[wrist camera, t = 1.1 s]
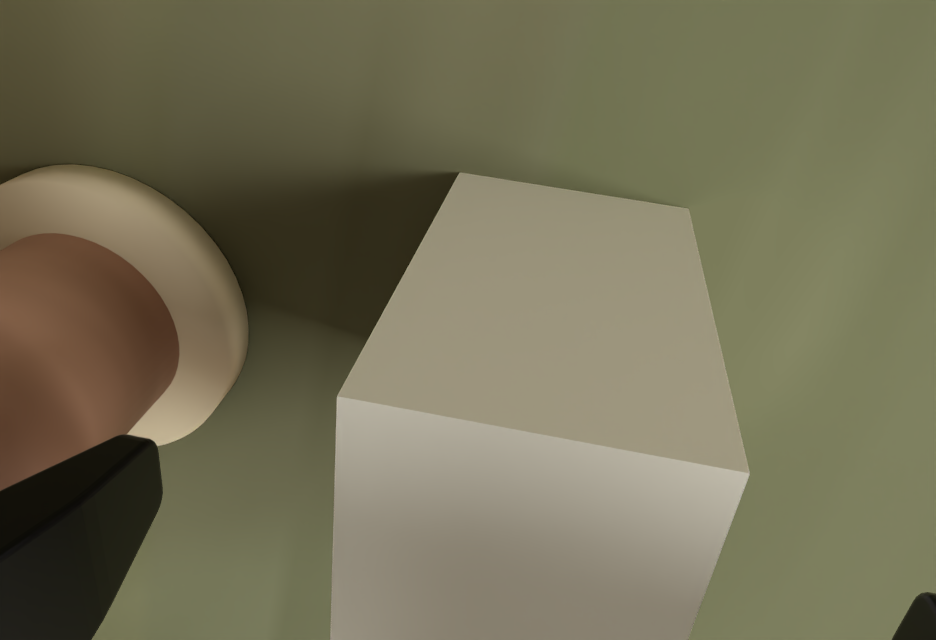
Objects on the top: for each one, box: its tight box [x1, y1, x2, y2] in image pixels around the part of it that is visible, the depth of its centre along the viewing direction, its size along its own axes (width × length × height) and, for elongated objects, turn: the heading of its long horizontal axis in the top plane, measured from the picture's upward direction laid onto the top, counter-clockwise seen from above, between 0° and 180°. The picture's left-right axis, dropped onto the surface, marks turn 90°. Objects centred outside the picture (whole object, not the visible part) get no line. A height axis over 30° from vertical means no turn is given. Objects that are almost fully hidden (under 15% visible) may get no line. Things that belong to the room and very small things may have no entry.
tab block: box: [330, 172, 750, 640], centre depth 11 cm, size 4×4×7 cm
